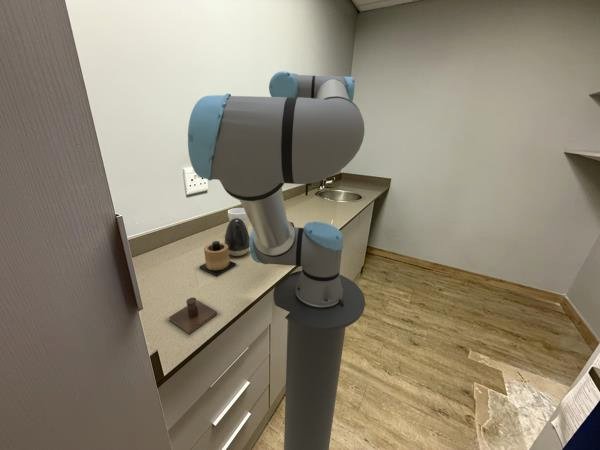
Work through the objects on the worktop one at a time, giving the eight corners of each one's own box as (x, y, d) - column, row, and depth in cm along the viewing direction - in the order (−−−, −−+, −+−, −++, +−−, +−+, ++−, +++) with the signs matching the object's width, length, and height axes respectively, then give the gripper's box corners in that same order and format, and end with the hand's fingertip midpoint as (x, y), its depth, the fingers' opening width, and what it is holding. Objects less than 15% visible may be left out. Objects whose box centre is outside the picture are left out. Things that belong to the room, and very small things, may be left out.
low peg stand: (217, 314, 66) (215, 297, 64) (189, 334, 59) (186, 316, 57) (197, 302, 70) (195, 286, 68) (169, 320, 63) (166, 303, 61)
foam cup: (240, 243, 108) (238, 215, 103) (225, 238, 112) (223, 211, 108) (254, 236, 116) (253, 210, 111) (239, 231, 120) (238, 206, 115)
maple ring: (233, 263, 89) (232, 246, 87) (216, 272, 83) (214, 254, 81) (218, 257, 93) (217, 240, 91) (201, 265, 87) (199, 248, 84)
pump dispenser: (226, 261, 93) (223, 224, 87) (223, 249, 102) (221, 215, 96) (253, 257, 96) (252, 221, 91) (248, 246, 105) (246, 213, 100)
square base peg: (236, 265, 90) (234, 241, 86) (216, 276, 83) (214, 250, 79) (219, 258, 94) (217, 235, 91) (199, 268, 87) (196, 243, 83)
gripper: (326, 131, 82) (321, 192, 89) (253, 128, 82) (254, 189, 90) (328, 131, 75) (323, 197, 82) (248, 127, 75) (250, 194, 83)
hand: (287, 193), depth 86 cm, fingers open, 13 cm apart
